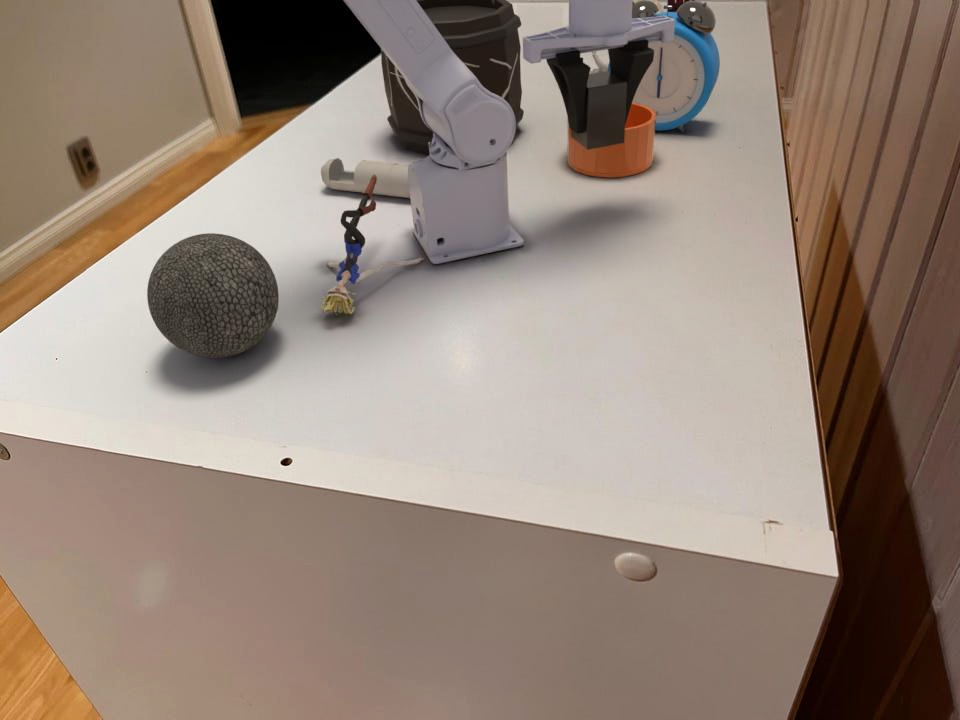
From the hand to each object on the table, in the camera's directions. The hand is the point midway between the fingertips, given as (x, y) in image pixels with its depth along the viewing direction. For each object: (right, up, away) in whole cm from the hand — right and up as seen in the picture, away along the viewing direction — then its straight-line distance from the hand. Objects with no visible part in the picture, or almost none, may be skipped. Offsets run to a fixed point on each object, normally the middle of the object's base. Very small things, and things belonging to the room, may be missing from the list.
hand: (597, 126), depth 77 cm
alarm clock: (+12, +7, +24) cm, 28 cm away
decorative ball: (-33, -22, -11) cm, 41 cm away
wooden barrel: (-15, +6, +26) cm, 30 cm away
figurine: (-23, -16, -4) cm, 29 cm away
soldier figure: (+6, +18, +39) cm, 43 cm away
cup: (+4, +1, +16) cm, 16 cm away
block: (0, -1, +1) cm, 1 cm away
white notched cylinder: (-21, -5, +12) cm, 25 cm away
